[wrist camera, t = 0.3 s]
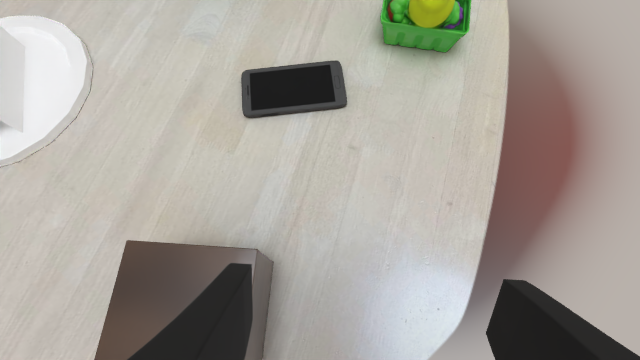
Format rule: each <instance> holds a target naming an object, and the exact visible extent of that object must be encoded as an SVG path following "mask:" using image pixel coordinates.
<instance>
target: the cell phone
mask: <svg viewBox="0 0 640 360" xmlns="http://www.w3.org/2000/svg"><path fill="white" fill-rule="evenodd" d="M241 81H242V109H243V114H244V116H246V117H249V118H252V117H261V116H270V115H279V114H289V113H298V112H307V111H316V110H325V109H334V108H341V107H344V106H345V105H346V103H347V97H346V91H345V85H344V79H343V73H342V67H341V64H340V62H339V61H325V62H316V63H307V64H298V65H288V66H279V67H270V68H260V69H252V70H246V71H244V72H243V73H242V78H241Z"/></svg>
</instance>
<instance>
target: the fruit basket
mask: <svg viewBox="0 0 640 360" xmlns="http://www.w3.org/2000/svg"><path fill="white" fill-rule="evenodd" d="M470 9H471V0H384V1H383V6H382V11H381V16H380V18H381V23H382V26H383V34H384V42H385V43H386V44H392V45H397V44H399V45H401V46H406V47H417V48H420V49H426V50H432V49H433V50H435V51H440V52H447V51H448V50H449V49H450V48H451V47H452V46H453V45H454V44H455V43H456V42H457V41H458V40H459V39H460V38H461V37H463V36H464V35H465V34H466V33H467V32H468V31H469V23H470Z"/></svg>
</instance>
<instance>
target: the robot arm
mask: <svg viewBox="0 0 640 360" xmlns="http://www.w3.org/2000/svg"><path fill="white" fill-rule="evenodd" d="M252 322H253V301H252V264H241V263H230V264H228V265H227V266H226V267H225V268H224V269H223V270H222V271H221V272H220V274H219V275H218V276H217V277H216V278H215V279H214V280H213V281H212V282H211V283H210V284H209V285H208V286H207V287H206V288H205V289H204V290H203V291H202V292H201V293H200V294H199V295H198V296H197V297H196V298H195V299H194V300H193V301H192V302H191V303H190V304H189V305H188V306H187V307H186V308H185V309H184V310H183V311H182V312H181V313H180V314H179V315H178V316H177V317H176V318H175V319H174V320H172V321H171V322H170V323H169V324H168V325H167V326H166V327H165V328H163V329H162V330H161V331H160V332H159V333H158V334H157V335H156V336H154V337H153V338H152V339H151V340H150V341H149V342H148V343H146V344H145V345H144V346H143V347H142V348H140V349H139V350H138V351H137V352H136V353H134V354H133V355H132V356H131V357H129V358H128V359H127V360H244V359H245V356H246V351H247V347H248V342H249V337H250V332H251V327H252ZM486 335H487V337H488V341H489V343H490V346H491V349H492V352H493V354H494V357H495V360H640V356H638V355H637V354H635V353H633V352H632V351H630V350H629V349H627V348H626V347H624V346H623V345H621V344H620V343H618V342H616V341H615V340H614V339H612V338H611V337H609V336H607V335H606V334H605V333H603V332H602V331H600V330H599V329H597V328H596V327H594V326H593V325H591V324H590V323H589V322H587V321H586V320H584V319H583V318H581V317H580V316H578V315H577V314H575V313H574V312H572V311H571V310H570V309H568V308H567V307H565V306H564V305H562V304H561V303H559V302H558V301H556V300H555V299H553V298H552V297H550V296H549V295H547V294H546V293H544V292H543V291H541V290H540V289H538V288H537V287H535V286H533V285H532V284H530V283H528V282H527V281H523V280H508V279H507V280H506V279H504V280H503V283H502V286H501V289H500V292H499V295H498V298H497V301H496V304H495V307H494V310H493V314H492V316H491V319H490V322H489V326H488V328H487V331H486Z"/></svg>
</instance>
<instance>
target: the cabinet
mask: <svg viewBox="0 0 640 360" xmlns="http://www.w3.org/2000/svg"><path fill="white" fill-rule="evenodd" d="M230 263H241V264H252V301H253V322H252V327H251V332H250V337H249V342H248V347H247V351H246V356H245V359H244V360H262V357H263V348H264V339H265V331H266V322H267V314H268V305H269V297H270V288H271V279H272V271H273V261H272V260H270V259H269V258H268V257H267V256H265V255H264V254H263V253H262V252H260V251H259V250H258V249H248V248H233V247H218V246H204V245H189V244H174V243H160V242H145V241H130V240H127V241H126V245H125V249H124V253H123V256H122V260H121V264H120V267H119V271H118V275H117V278H116V282H115V286H114V289H113V293H112V297H111V300H110V304H109V308H108V311H107V315H106V319H105V322H104V326H103V330H102V334H101V337H100V341H99V345H98V348H97V352H96V356H95V359H94V360H127V359H128V358H129V357H131V356H132V355H133V354H134V353H136V352H137V351H138V350H139V349H140V348H142V347H143V346H144V345H145V344H146V343H148V342H149V341H150V340H151V339H152V338H153V337H154V336H156V335H157V334H158V333H159V332H160V331H161V330H162V329H163V328H165V327H166V326H167V325H168V324H169V323H170V322H171V321H172V320H174V319H175V318H176V317H177V316H178V315H179V314H180V313H181V312H182V311H183V310H184V309H185V308H186V307H187V306H188V305H189V304H190V303H191V302H192V301H193V300H194V299H195V298H196V297H197V296H198V295H199V294H200V293H201V292H202V291H203V290H204V289H205V288H206V287H207V286H208V285H209V284H210V283H211V282H212V281H213V280H214V279H215V278H216V277H217V276H218V275H219V274H220V272H221V271H222V270H223V269H224V268H225V267H226V266H227V265H228V264H230Z"/></svg>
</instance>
